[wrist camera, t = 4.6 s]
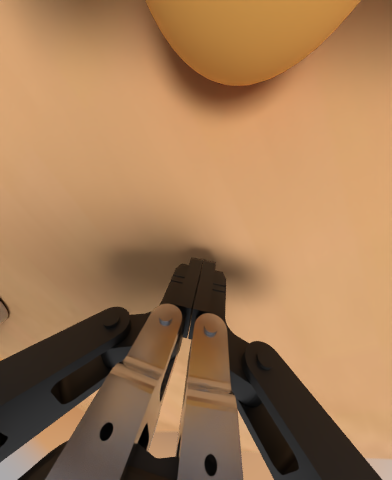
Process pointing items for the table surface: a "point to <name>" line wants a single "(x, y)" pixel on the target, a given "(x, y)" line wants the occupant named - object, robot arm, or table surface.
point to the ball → (246, 34)
